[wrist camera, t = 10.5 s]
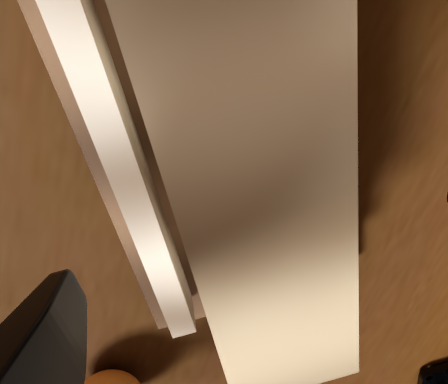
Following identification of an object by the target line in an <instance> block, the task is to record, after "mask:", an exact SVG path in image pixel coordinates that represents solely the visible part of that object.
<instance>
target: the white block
mask: <svg viewBox="0 0 448 384" xmlns="http://www.w3.org/2000/svg"><path fill="white" fill-rule="evenodd" d="M105 2H106V5H107V8H108V11H109V15H110V18H111V21H112V24H113V27H114V30H115V33H116V36H117V39H118V43H119V46H120V49H121V52H122V55H123V58H124V61H125V64H126V68H127V71H128V74H129V77H130V80H131V83H132V86H133V89H134V93H135V96H136V99H137V102H138V105H139V108H140V111H141V114H142V117H143V121H144V124H145V127H146V130H147V133H148V136H149V139H150V142H151V146H152V149H153V152H154V155H155V158H156V161H157V164H158V167H159V170H160V174H161V177H162V180H163V183H164V186H165V189H166V192H167V195H168V199H169V202H170V205H171V208H172V211H173V214H174V217H175V220H176V224H177V227H178V230H179V233H180V236H181V239H182V242H183V245H184V248H185V252H186V255H187V258H188V261H189V264H190V267H191V270H192V273H193V277H194V280H195V283H196V286H197V289H198V292H199V295H200V298H201V301H202V305H203V308H204V311H205V314H206V317H207V320H208V323H209V326H210V330H211V333H212V336H213V339H214V342H215V345H216V348H217V351H218V355H219V358H220V361H221V364H222V367H223V370H224V373H225V376H226V379H227V383H228V384H319V383H323V382H326V381H330V380H333V379H337V378H340V377H344V376H347V375H350V374H354V373H357V372H359V277H358V64H357V0H105Z"/></svg>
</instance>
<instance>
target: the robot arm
mask: <svg viewBox="0 0 448 384" xmlns="http://www.w3.org/2000/svg"><path fill="white" fill-rule="evenodd" d="M447 202H448V194H447ZM86 353H87V299H86V296H85V293H84V292H83V290H82V288H81V286H80V284H79V282H78V281H77V279H76V277H75V275H74V273H73V272H72V271H71V270H68V269H66V270H62V271H58V272H54V273H51V274H50V275H48V276H47V277H46V278H45V279H44V280H43V282H42V283H41V284H40V285H39V286H38V287H37V288H36V289H35V290H34V291H33V292H32V293H31V294H30V295H29V296H28V297H27V298H26V299H25V300H24V301H23V302H22V303H21V304H20V305H19V306H18V307H17V308H16V309H15V310H14V311H13V312H12V313H11V314H10V315H9V316H8V317H7V318H6V319H5V320H4V321H3V322H2V323H1V324H0V384H84V382H85V373H86ZM418 384H448V362H447V363H443V364H440V365H436V366H433V367H429V368H426V369H424V370H422V371H421V372H420V373H419V377H418Z"/></svg>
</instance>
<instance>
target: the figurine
mask: <svg viewBox="0 0 448 384" xmlns="http://www.w3.org/2000/svg"><path fill="white" fill-rule="evenodd" d="M84 384H141V383H140V382H139V381H138V380H137V379H136V378H135V377H134V376H133V375H131V374H129V373H127V372H125V371H122V370H116V369H110V370H104V371H100V372H98V373H95V374H93V375H92V376H90V377H88V378H87V379H86V380H85V382H84Z"/></svg>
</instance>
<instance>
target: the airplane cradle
mask: <svg viewBox="0 0 448 384" xmlns="http://www.w3.org/2000/svg"><path fill="white" fill-rule="evenodd" d="M17 1H18V3H19V5H20V8H21V10H22V12H23V15H24V17H25V19H26V22H27V24H28V26H29V29H30V31H31V33H32V36H33V38H34V40H35V43H36V45H37V47H38V50H39V52H40V54H41V57H42V59H43V61H44V64H45V66H46V68H47V71H48V73H49V75H50V78H51V80H52V82H53V85H54V87H55V89H56V92H57V94H58V96H59V99H60V101H61V103H62V106H63V108H64V110H65V113H66V115H67V117H68V120H69V122H70V124H71V127H72V129H73V131H74V134H75V136H76V138H77V141H78V143H79V145H80V148H81V150H82V152H83V155H84V157H85V159H86V161H87V164H88V166H89V168H90V171H91V173H92V175H93V178H94V180H95V182H96V185H97V187H98V189H99V192H100V194H101V196H102V199H103V201H104V203H105V206H106V208H107V210H108V213H109V215H110V217H111V220H112V222H113V224H114V227H115V229H116V231H117V234H118V236H119V238H120V241H121V243H122V245H123V248H124V250H125V252H126V255H127V257H128V259H129V262H130V264H131V266H132V269H133V271H134V273H135V276H136V278H137V280H138V283H139V285H140V287H141V290H142V292H143V294H144V297H145V299H146V301H147V304H148V306H149V308H150V311H151V313H152V315H153V318H154V320H155V322H156V325H157V327H158V329H162V328H166V327H168V328H169V330H170V333H171V335H172V337H173V338H176V337H180V336H183V335H187V334H191V333H194V332H196V325H195V319H199V318H203V317H206V314H205V311H204V308H203V305H202V301H201V298H200V295H199V292H198V289H197V286H196V283H195V280H194V277H193V273H192V270H191V267H190V264H189V261H188V258H187V255H186V252H185V248H184V245H183V242H182V239H181V236H180V233H179V230H178V227H177V224H176V220H175V217H174V214H173V211H172V208H171V205H170V202H169V199H168V195H167V192H166V189H165V186H164V183H163V180H162V177H161V174H160V170H159V167H158V164H157V161H156V158H155V155H154V152H153V149H152V146H151V142H150V139H149V136H148V133H147V130H146V127H145V124H144V121H143V117H142V114H141V111H140V108H139V105H138V102H137V99H136V96H135V93H134V89H133V86H132V83H131V80H130V77H129V74H128V71H127V68H126V64H125V61H124V58H123V55H122V52H121V49H120V46H119V43H118V39H117V36H116V33H115V30H114V27H113V24H112V21H111V18H110V15H109V11H108V8H107V5H106V2H105V0H17Z"/></svg>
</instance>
